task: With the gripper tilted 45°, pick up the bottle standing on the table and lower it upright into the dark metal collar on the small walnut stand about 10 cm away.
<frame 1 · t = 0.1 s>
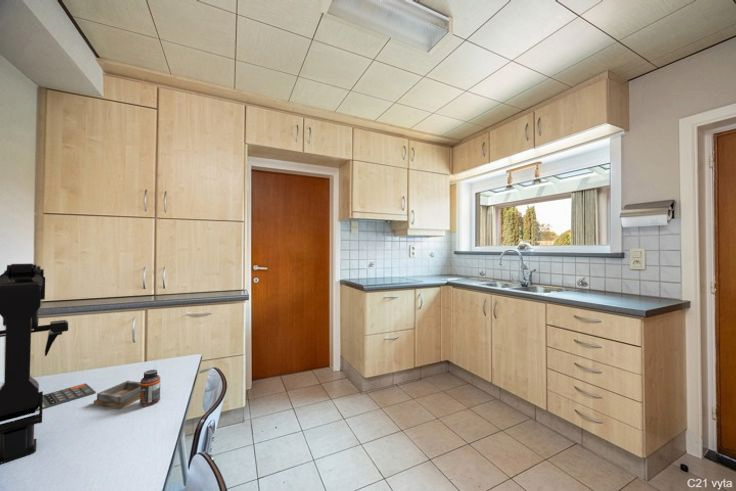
hand: (23, 359, 89), 15 cm above the table, tool pointing down, fingers open, 9 cm apart
supplement bottle: (150, 403, 93), on the table
collar stand: (124, 398, 95), on the table
calculator: (59, 399, 96), on the table
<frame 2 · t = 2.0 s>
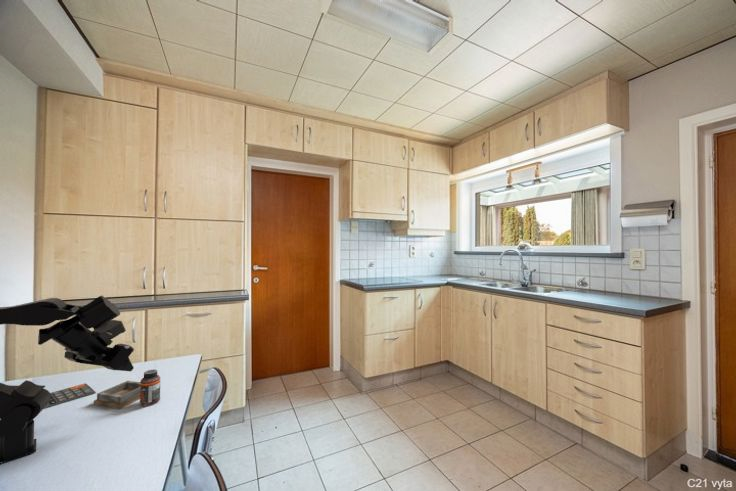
hand: (120, 367, 86), 14 cm above the table, tool tilted 45°, fingers open, 9 cm apart
nothing on the table moved.
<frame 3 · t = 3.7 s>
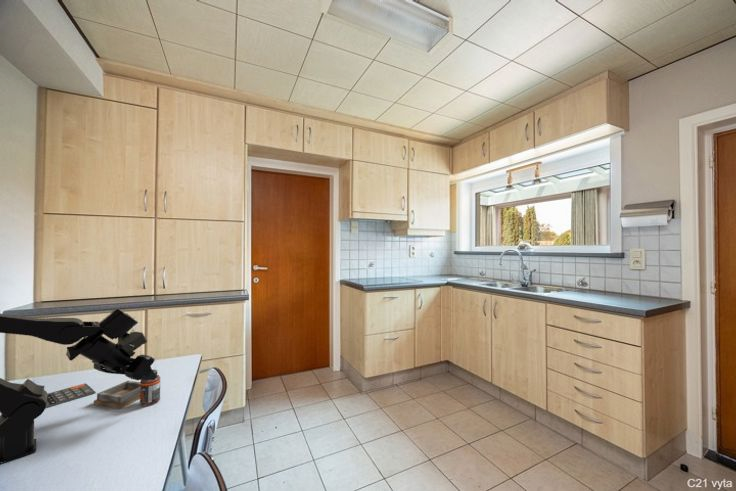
hand: (145, 375, 91), 9 cm above the table, tool tilted 45°, fingers open, 9 cm apart
nothing on the table moved.
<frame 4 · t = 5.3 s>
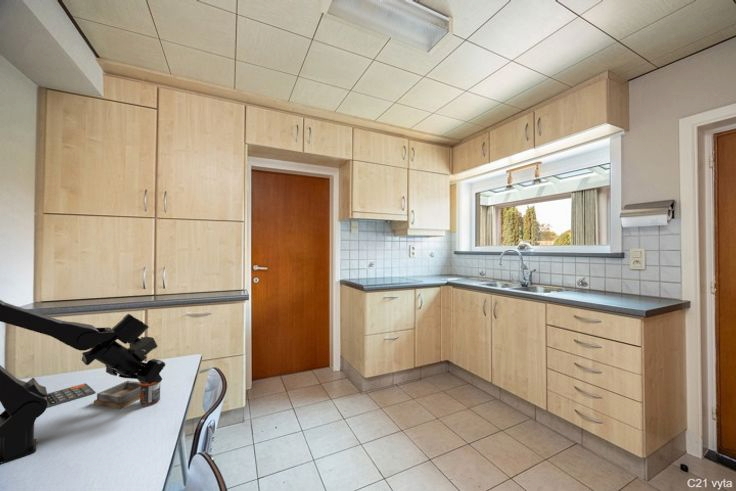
hand: (155, 379, 94), 7 cm above the table, tool tilted 45°, fingers closed on supplement bottle, 5 cm apart
supplement bottle: (150, 403, 93), on the table, touching gripper
everything else where it was.
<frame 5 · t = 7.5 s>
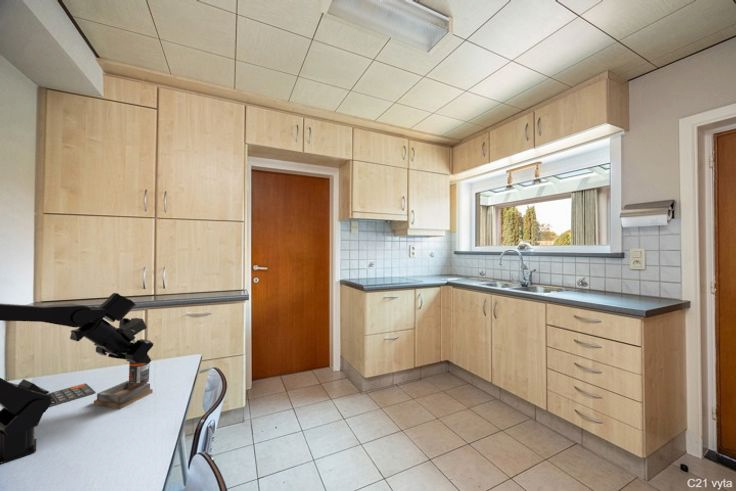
hand: (144, 360, 95), 12 cm above the table, tool tilted 45°, fingers closed on supplement bottle, 5 cm apart
supplement bottle: (138, 384, 94), point 5 cm above the table, touching gripper
everything else where it was.
when the fingers open (8 cm above the table, at t = 10.2 s): supplement bottle stays where it is, resting on collar stand.
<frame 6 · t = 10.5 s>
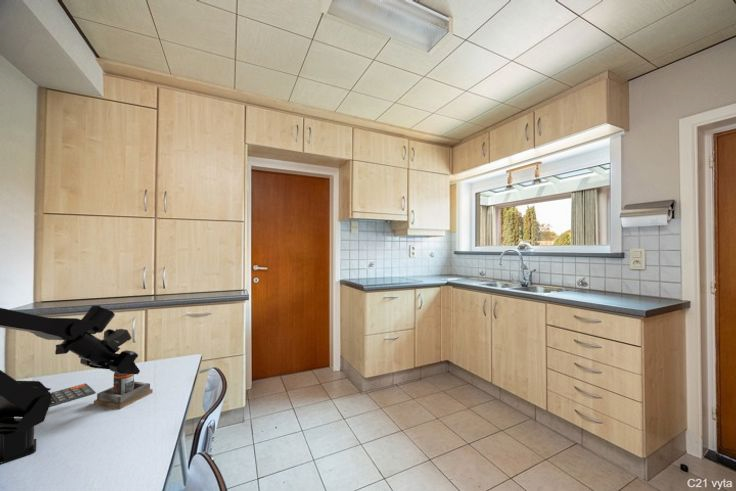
hand: (129, 370, 97), 8 cm above the table, tool tilted 45°, fingers open, 9 cm apart
supplement bottle: (123, 395, 95), point 1 cm above the table, touching collar stand
everything else where it was.
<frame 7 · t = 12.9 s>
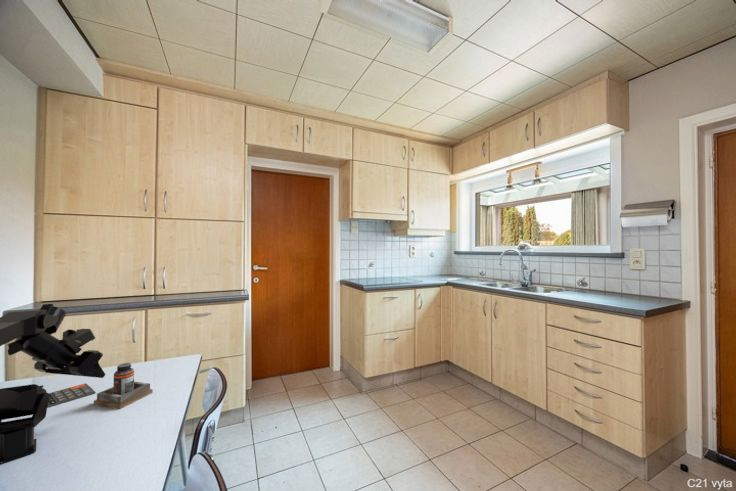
hand: (92, 375, 88), 11 cm above the table, tool tilted 45°, fingers open, 9 cm apart
nothing on the table moved.
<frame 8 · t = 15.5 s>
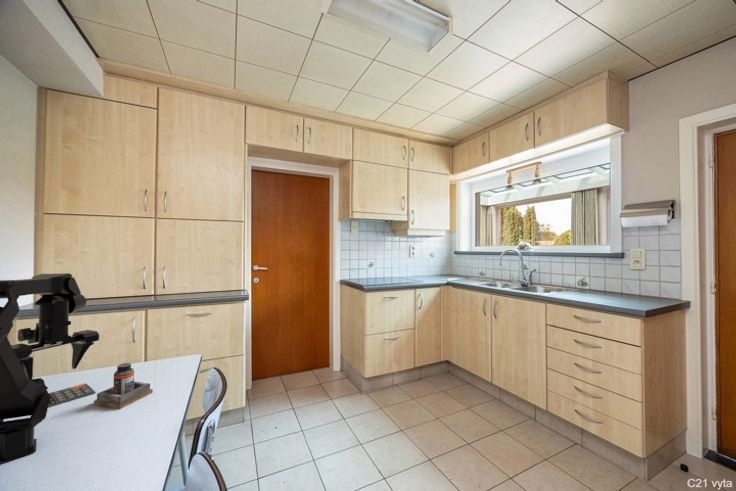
hand: (52, 374, 82), 13 cm above the table, tool pointing down, fingers open, 9 cm apart
nothing on the table moved.
at the end: supplement bottle 0.2 cm off-centre on the collar stand, point 1.0 cm above the collar stand's base; supplement bottle tilted 0°; the gripper is holding nothing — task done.
